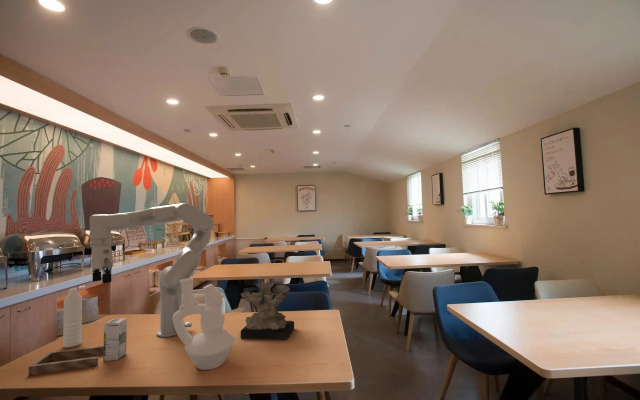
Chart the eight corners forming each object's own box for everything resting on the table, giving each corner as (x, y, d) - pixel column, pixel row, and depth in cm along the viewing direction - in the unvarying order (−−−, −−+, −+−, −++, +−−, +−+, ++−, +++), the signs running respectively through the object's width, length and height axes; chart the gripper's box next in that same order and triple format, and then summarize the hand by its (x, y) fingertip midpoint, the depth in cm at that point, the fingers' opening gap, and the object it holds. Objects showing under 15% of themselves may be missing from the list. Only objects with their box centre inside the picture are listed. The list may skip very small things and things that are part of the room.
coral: (233, 338, 136) (232, 290, 137) (251, 322, 155) (251, 280, 157) (286, 341, 131) (284, 291, 132) (298, 324, 151) (297, 281, 152)
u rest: (110, 352, 125) (110, 344, 125) (96, 366, 113) (96, 357, 113) (49, 359, 120) (50, 352, 120) (28, 375, 108) (28, 366, 108)
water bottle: (71, 348, 131) (72, 290, 132) (58, 347, 132) (59, 289, 133) (90, 340, 139) (90, 285, 141) (78, 339, 140) (79, 285, 142)
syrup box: (111, 354, 123) (112, 318, 124) (126, 353, 123) (127, 317, 124) (102, 361, 117) (103, 323, 118) (118, 360, 118) (119, 322, 118)
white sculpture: (230, 374, 104) (228, 280, 106) (164, 379, 102) (164, 284, 104) (238, 351, 122) (237, 271, 124) (183, 355, 119) (182, 274, 121)
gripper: (119, 241, 130) (120, 281, 129) (102, 241, 139) (103, 278, 139) (99, 243, 124) (100, 285, 123) (82, 243, 133) (83, 282, 132)
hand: (101, 281), depth 131 cm, fingers open, 9 cm apart
